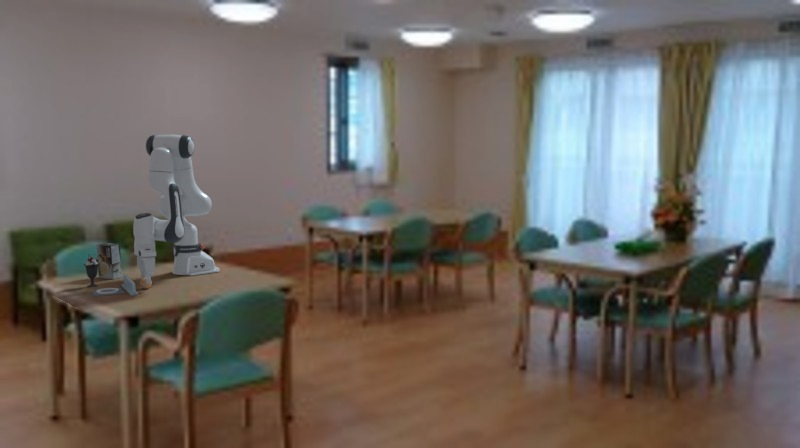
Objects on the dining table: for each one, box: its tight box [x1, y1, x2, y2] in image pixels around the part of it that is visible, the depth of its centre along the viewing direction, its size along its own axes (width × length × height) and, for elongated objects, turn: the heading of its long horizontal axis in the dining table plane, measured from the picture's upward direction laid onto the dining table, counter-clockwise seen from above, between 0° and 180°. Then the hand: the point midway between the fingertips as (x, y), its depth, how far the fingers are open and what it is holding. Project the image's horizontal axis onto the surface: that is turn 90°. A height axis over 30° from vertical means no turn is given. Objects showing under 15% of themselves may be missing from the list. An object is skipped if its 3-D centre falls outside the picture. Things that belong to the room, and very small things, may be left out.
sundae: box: [83, 254, 99, 288], centre depth 342 cm, size 7×7×15 cm
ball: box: [139, 277, 153, 290], centre depth 338 cm, size 5×5×5 cm
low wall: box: [121, 274, 139, 296], centre depth 334 cm, size 3×22×5 cm, turn 29°
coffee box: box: [96, 242, 123, 280], centre depth 361 cm, size 9×6×16 cm
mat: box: [90, 287, 126, 297], centre depth 330 cm, size 12×12×1 cm
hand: (146, 281), depth 337 cm, fingers open, 8 cm apart
